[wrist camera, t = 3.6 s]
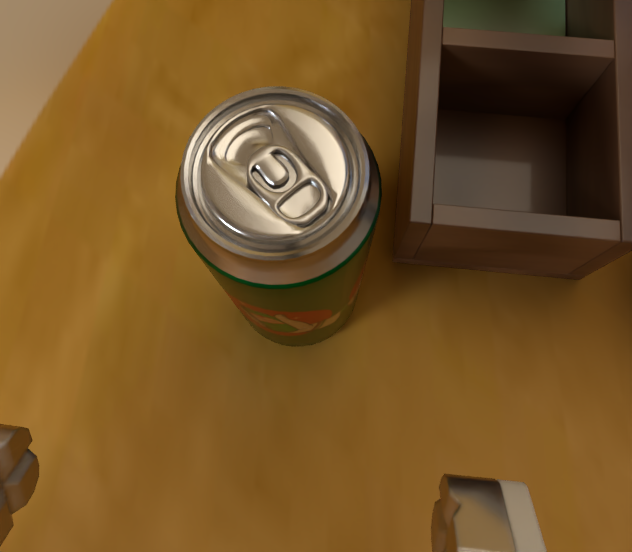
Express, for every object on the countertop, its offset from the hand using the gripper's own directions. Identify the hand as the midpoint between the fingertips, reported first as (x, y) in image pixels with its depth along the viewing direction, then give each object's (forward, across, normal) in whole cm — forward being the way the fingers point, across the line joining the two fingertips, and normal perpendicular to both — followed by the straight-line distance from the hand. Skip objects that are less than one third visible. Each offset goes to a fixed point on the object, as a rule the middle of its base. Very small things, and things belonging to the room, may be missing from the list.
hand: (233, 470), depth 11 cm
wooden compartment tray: (+22, -8, -5) cm, 24 cm away
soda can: (+13, 0, +4) cm, 14 cm away
